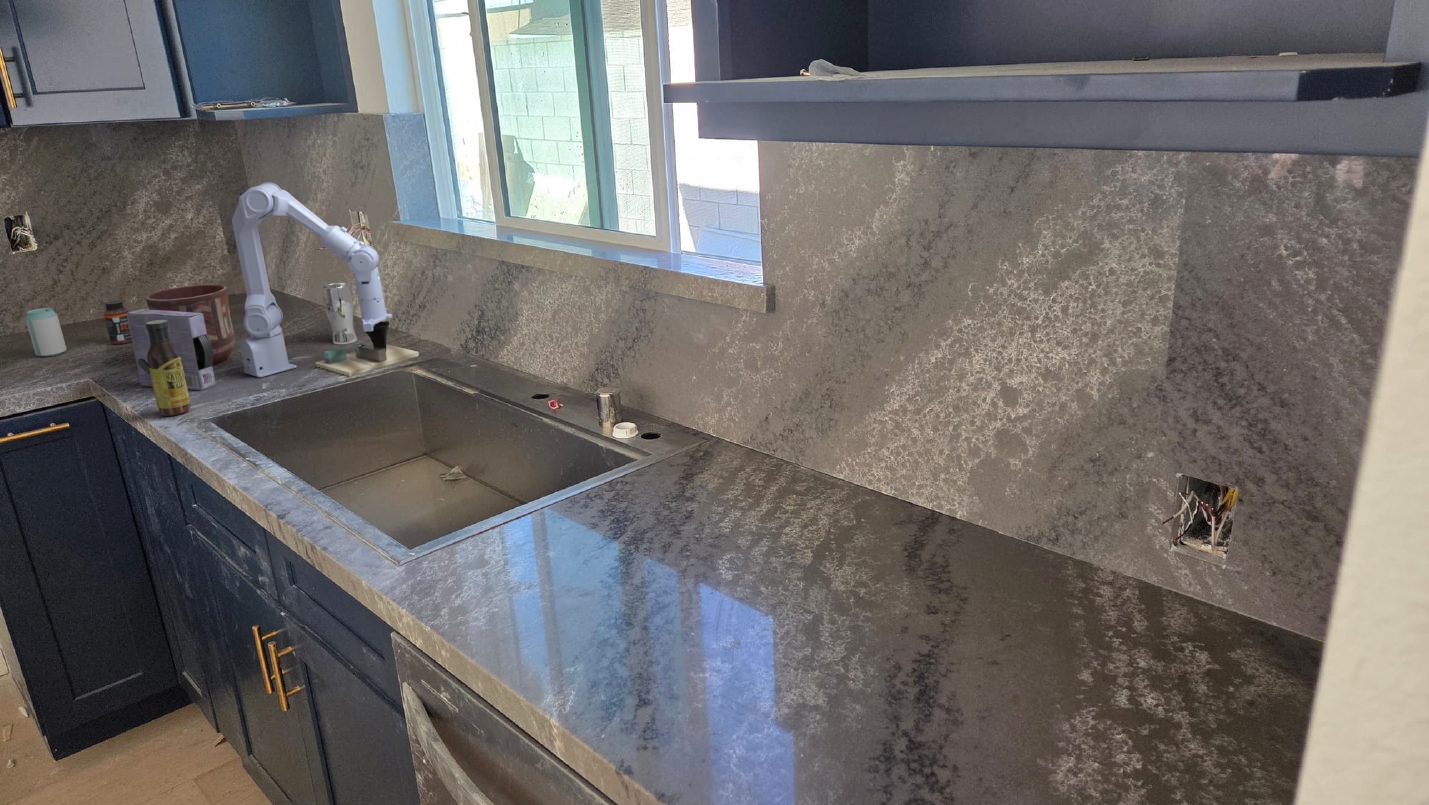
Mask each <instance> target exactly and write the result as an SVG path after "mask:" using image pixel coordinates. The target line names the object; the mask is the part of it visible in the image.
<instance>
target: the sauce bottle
mask: <svg viewBox="0 0 1429 805" xmlns="http://www.w3.org/2000/svg"><path fill="white" fill-rule="evenodd" d="M146 329H147V330H148V333H149V338H150V343H151V346H150V349H149V351H148V354H147V359H148V363H149V370H150V375H151V379H152V384H153V387H152V388H153V392H154V393H153V394H154V397H155V401H156V406H157V409H158V412H159V414H160V416H164V417H172V416H178V415H181V414H182V415H183V414H185V413H187V412H189V411H190V409H191V401H190V400H191V399H190V394H189V389H187V384H186V379H185V375H184V370H183V365H182V361H181V357H180V355H179V354H178V352H177V350H176V349H175V347H174V345H173V344H172V342H171V339H170V336H169V332H168V323H167V321H166V320H155V321H150V322H147V323H146Z"/></svg>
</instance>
